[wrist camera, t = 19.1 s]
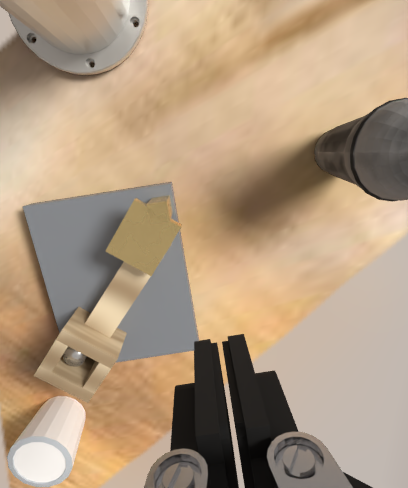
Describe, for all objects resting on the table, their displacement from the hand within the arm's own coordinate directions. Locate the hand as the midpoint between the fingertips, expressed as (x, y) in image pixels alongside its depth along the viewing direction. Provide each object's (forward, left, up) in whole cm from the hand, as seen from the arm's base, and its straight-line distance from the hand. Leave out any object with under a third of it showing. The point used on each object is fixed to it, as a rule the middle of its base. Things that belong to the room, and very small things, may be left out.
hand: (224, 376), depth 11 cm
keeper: (0, -6, -27) cm, 28 cm away
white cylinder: (+22, -21, -27) cm, 41 cm away
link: (+7, -10, -25) cm, 28 cm away
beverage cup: (-5, +15, -27) cm, 32 cm away
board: (+5, -10, -27) cm, 29 cm away
